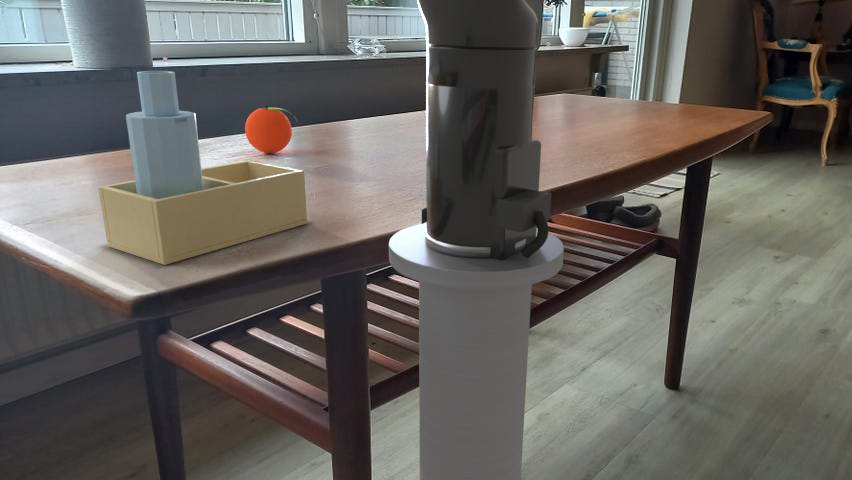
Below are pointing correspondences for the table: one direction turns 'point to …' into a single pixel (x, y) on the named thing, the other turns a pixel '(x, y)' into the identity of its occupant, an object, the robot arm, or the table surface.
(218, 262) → the table surface
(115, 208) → the holder
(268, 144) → the clementine
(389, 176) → the table surface
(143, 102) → the bottle
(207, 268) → the table surface
